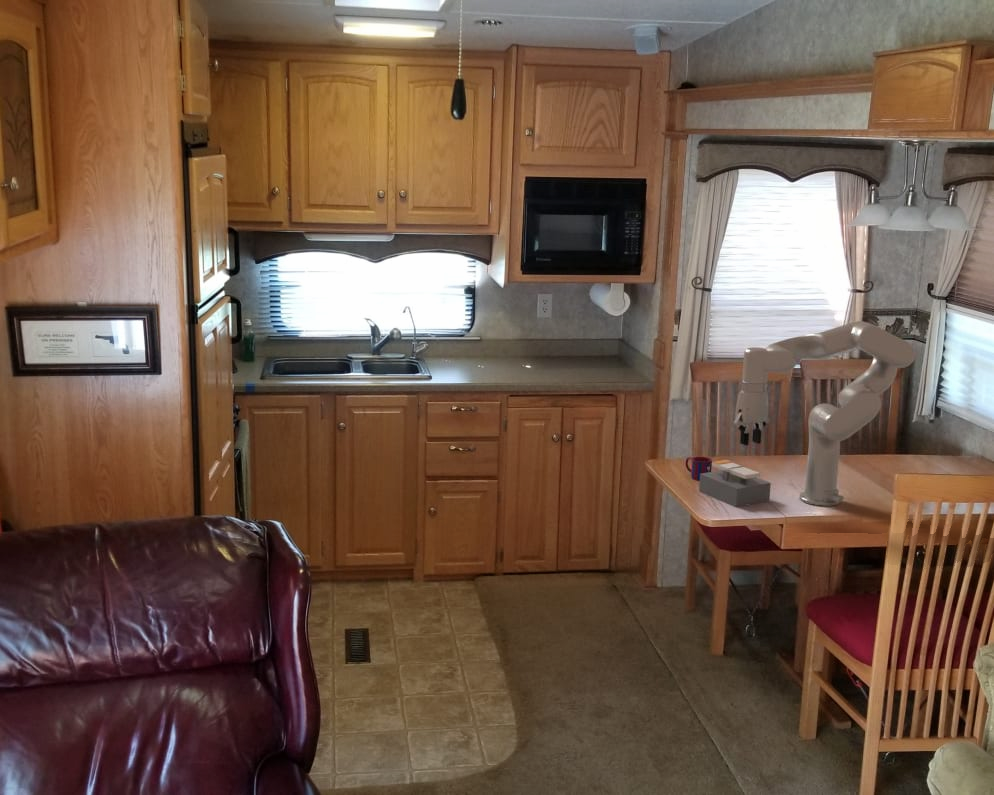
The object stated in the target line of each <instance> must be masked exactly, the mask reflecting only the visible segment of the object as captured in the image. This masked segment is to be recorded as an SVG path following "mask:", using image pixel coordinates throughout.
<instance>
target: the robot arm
mask: <svg viewBox="0 0 994 795" xmlns="http://www.w3.org/2000/svg"><path fill="white" fill-rule="evenodd" d="M857 350H860V351H862V352H864V353H867V354H868V355H871V356H873V357H872V361H871V364H870V366H869V367H868V369H867V370H865V371H864V372H863V373H862V374H860V375H859V376H858V377H857V378H855V379H854V380H853V381H852V382H850V383H849V384H848V385H846V386H845V387H844V388H842V390H840V392H839V393H838V397H837V402H838V403H839V405H840V407H839V408H838V407H837V406H835V405H833V404H831V403H820V404H817V405H815V406H814V407H813V408H812V409H811V410H810V412H809V416H808V420H807V422H808V423H807V424H808V449H807V450H808V451H807V452H808V453H807V464H806V465H807V466H806V475H805V486H804V487H805V488H804V491H802V492H800V494H799V499H800V500H801V501H802V502H803V501H804V503H806V504H809V503H810V504H809V505H813V504H815V505H814V506H819V505H822V506H821V507H830V506H838V505H839V504H840V503H842V501H843V500H844V499H845V496H843V495H840V494H839V491H840V489H838V488H837V486H838V485H837V484H838V474H839V463H840V462H839V461H840V454H841V453H840V452H841V442H842V441H845V440H847V439H848V438H850V437H852V436H853V435H854V434H856V433H857V432H858V431H860V430H861V429H862V428H863V427H865V426H866V425H867V424H868V423H869V422H871V421H872V420H874V419H875V417H877V415H878V414H879V412H880V410H881V408H882V398H881V397H880V395H882V394H883V393H884V392H885V391H886V390H888V389H889V388H890V387H891V385H892V384H893V383H894V381H895V379H896V376H897V373H898V369H903V368H906V367H908V366H910V365H912V363H913V362H914V361H915V358H916V349H915V347H914V346H913V344H912V343H910V342H908V341H907V340H906V339H903V338H900V337H899V336H897V335H894V334H893V333H890V332H889V331H887V330H885V329H882V328H881V327H879V326H878V325H875V324H872V323H869V322H867V321H863V320H861V321H860V320H857V321H853V322H850V323H847V324H844V325H841V326H838V327H834V328H830V329H828V330H827V329H826V330H824V331H820V332H817V333H810V334H806V335H798V336H794V337H789V338H787V339H786V338H785V339H783V340H780V341H776V342H774V343H771V344H768V346H766V347H765V348H763V347H757V346H756V347H747V348H746V349H745V350H744V353H743V363H742V364H743V365H742V377H741V378H742V381H741V391H739V393H738V396H737V400H736V406H735V413H734V421H733V422H732V423H733V425H734V426H735V427H736V428H737V429H738V431H739V432H740V439H739V444H740V445H743V446H745V447H746V446H749V443H750V442H749V441H750V433H749V429H750V425H753V426H754V429H753V430H752V438H751V439H752V442H753V443H754V444H761V442H762V432H763V431H764V428H765V426H767V424H768V422H770V421H771V418H770V415H769V395H768V391H767V389H768V388H767V387H768V386H769V383H768V374H769V373H768V372H770V373H775V374H776V373H777V374H787V373H789V372H791V371H793V370H794V368H795V367H796V365H797V361H798V360H806V359H813V360H814V359H815V360H828V359H831V358H834V357H838V356H841V355H844V354H847V353H850V352H854V351H857Z"/></svg>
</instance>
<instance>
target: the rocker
mask: <svg viewBox="0 0 994 795" xmlns="http://www.w3.org/2000/svg"><path fill="white" fill-rule="evenodd" d="M712 467H713V468H716V469H718V470H727V471H729V473H731V474H734V475H736V476H739V477H741V478H744V479H748V478H754V477H757V478H759V477H760V476H761V473H760V472H758V471H756V470H753V469H750V468H748V467H745V466H744V465H740V464H737V463H734V462H732V461H731V460H728V459H723V460H717V461H712Z"/></svg>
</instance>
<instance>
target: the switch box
mask: <svg viewBox="0 0 994 795" xmlns="http://www.w3.org/2000/svg"><path fill="white" fill-rule="evenodd" d="M771 486H772V484H771V482H769V481H767V480H764V479H761V478H759V477H754V478H748V479H744V478H741V477H739V476H736V475H734V474H731V473H729V471H727V470H721V469H719V470H716V471H711V472H708V473H702V474H700V481H699V488H698V491H699V492H700V493H701V494H702V493H703V494H704V495H706V496H709V497H712V498H714V499H716V500H719V501H721V502H724V503H726V504H728V505H730V506H733V507H734V508H738V507H743V506H744V507H745V506H748V504H749V505H753V504H752V503H755V504H759V503H758V502H760V503H765V502H769V501H770V498H771ZM764 501H765V502H764Z"/></svg>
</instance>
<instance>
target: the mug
mask: <svg viewBox="0 0 994 795" xmlns="http://www.w3.org/2000/svg"><path fill="white" fill-rule="evenodd" d="M689 460H691V468H690V467H689ZM712 463H713V459H712V458H710V457H707V456H694V457H692V456H691V457H687V458H686V459H685V468H686V470H687V471H688V472H689V473H691V474H690V477H691V479H692V480H694V481H699V482H700V474H702V473H708V472H712V467H713V466H712Z"/></svg>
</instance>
